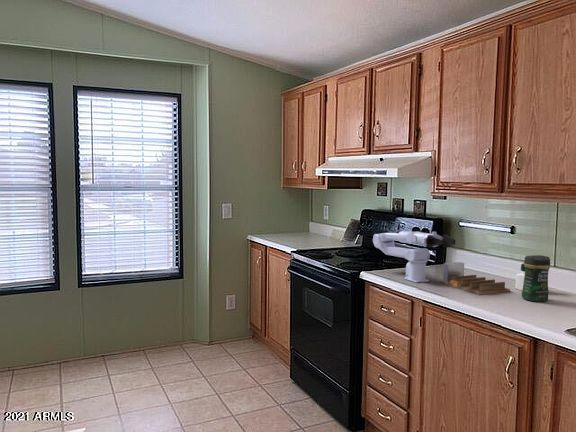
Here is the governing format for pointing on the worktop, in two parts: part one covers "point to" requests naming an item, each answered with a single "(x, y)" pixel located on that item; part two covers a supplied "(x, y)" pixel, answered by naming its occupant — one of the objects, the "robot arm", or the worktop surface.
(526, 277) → the coffee jar
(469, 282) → the slot rack
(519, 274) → the medicine bottle
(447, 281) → the grey brushed metal block
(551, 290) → the worktop surface
